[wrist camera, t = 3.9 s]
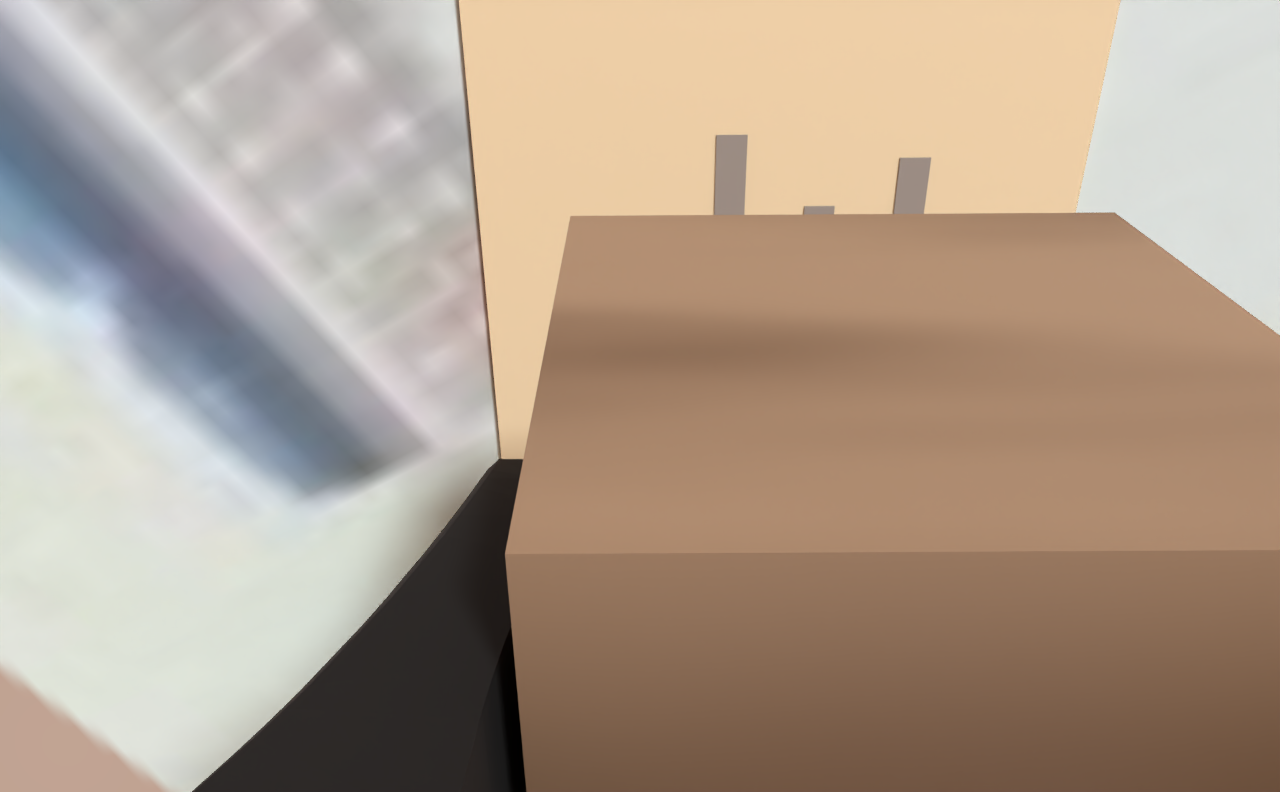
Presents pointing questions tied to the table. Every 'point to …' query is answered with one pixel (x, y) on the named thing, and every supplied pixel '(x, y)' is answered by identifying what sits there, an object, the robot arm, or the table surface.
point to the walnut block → (896, 512)
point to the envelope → (758, 124)
